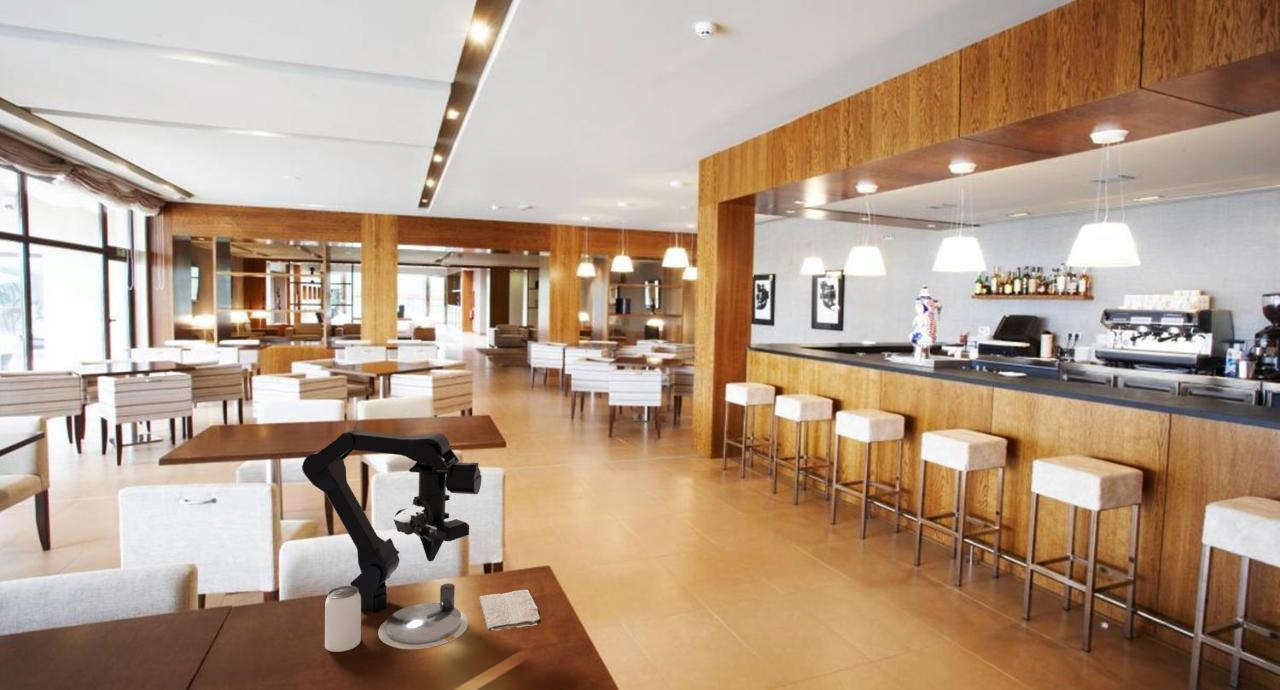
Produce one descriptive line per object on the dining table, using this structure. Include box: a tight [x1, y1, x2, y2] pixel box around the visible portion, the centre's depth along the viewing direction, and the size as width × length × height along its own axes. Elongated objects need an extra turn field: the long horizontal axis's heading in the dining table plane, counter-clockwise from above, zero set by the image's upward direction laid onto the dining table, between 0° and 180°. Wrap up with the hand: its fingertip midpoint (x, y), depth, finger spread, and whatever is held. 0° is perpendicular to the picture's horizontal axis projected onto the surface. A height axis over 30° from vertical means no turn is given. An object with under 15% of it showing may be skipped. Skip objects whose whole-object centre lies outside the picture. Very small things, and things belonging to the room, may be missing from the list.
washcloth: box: [478, 589, 541, 632], centre depth 146 cm, size 12×18×3 cm, turn 21°
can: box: [324, 585, 362, 653], centre depth 129 cm, size 6×6×12 cm
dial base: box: [377, 611, 469, 650], centre depth 137 cm, size 18×18×2 cm
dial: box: [386, 583, 462, 644], centre depth 137 cm, size 15×15×6 cm
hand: (430, 560), depth 145 cm, fingers closed
